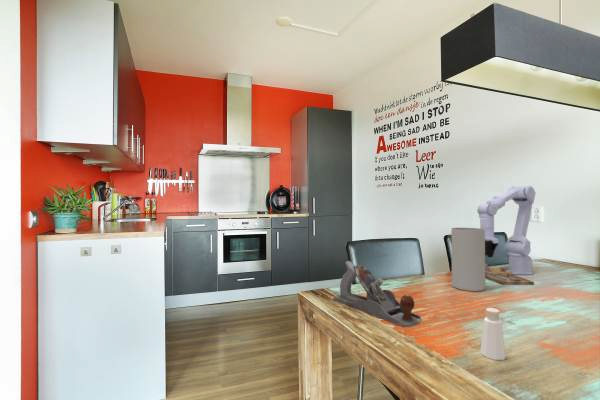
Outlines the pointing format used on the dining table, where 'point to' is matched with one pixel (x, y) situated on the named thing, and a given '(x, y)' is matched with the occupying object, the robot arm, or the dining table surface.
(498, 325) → the salt shaker
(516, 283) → the slide rail board
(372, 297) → the hand plane
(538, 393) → the dining table surface
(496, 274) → the trammel
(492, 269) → the block
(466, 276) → the cylinder vase
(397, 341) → the dining table surface
